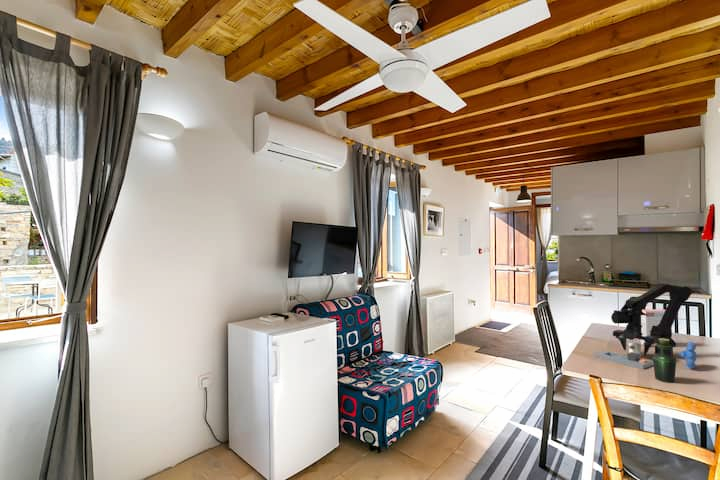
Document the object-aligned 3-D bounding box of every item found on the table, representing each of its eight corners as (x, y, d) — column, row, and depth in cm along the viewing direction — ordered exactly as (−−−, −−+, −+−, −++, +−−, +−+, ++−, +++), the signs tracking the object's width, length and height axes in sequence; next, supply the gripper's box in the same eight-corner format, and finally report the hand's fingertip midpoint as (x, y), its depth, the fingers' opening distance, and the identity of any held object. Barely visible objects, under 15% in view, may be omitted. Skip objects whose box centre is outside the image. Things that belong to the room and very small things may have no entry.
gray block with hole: (652, 365, 177) (652, 355, 177) (643, 369, 172) (642, 358, 172) (604, 353, 196) (604, 344, 196) (594, 356, 191) (594, 347, 191)
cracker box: (665, 344, 211) (664, 308, 211) (672, 347, 205) (672, 310, 205) (639, 344, 212) (639, 308, 212) (646, 347, 206) (646, 310, 206)
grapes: (680, 362, 180) (679, 338, 180) (698, 365, 175) (698, 341, 175) (678, 368, 172) (677, 343, 172) (697, 372, 167) (697, 346, 167)
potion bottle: (665, 376, 163) (664, 336, 163) (682, 383, 155) (681, 341, 155) (648, 376, 163) (647, 337, 163) (663, 383, 155) (663, 342, 155)
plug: (640, 356, 190) (640, 343, 190) (634, 358, 187) (634, 345, 187) (633, 354, 193) (632, 342, 193) (627, 357, 190) (626, 343, 190)
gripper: (607, 321, 195) (607, 350, 195) (648, 329, 178) (648, 360, 178) (617, 319, 200) (618, 347, 200) (658, 326, 184) (658, 356, 184)
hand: (634, 352), depth 190 cm, fingers open, 9 cm apart
